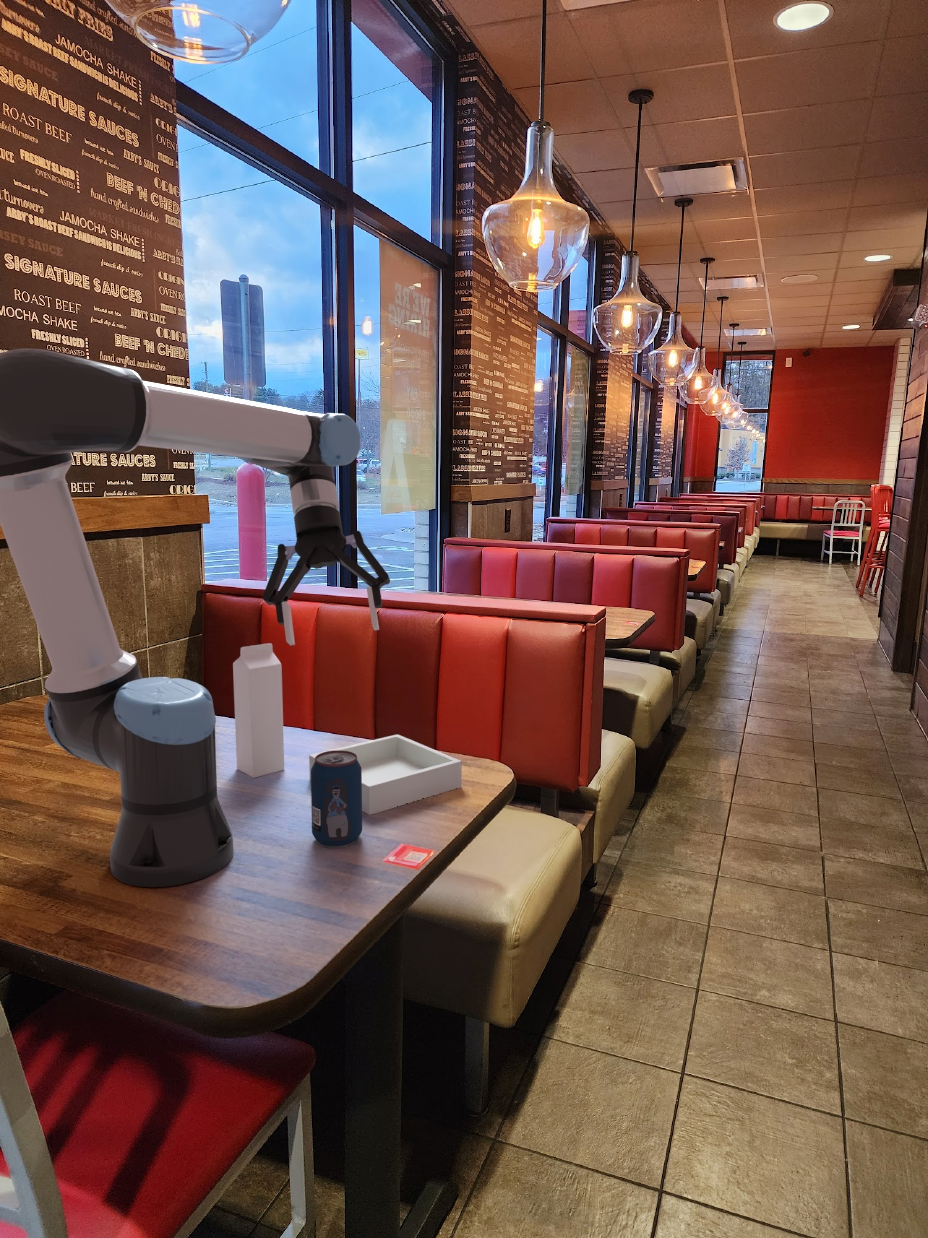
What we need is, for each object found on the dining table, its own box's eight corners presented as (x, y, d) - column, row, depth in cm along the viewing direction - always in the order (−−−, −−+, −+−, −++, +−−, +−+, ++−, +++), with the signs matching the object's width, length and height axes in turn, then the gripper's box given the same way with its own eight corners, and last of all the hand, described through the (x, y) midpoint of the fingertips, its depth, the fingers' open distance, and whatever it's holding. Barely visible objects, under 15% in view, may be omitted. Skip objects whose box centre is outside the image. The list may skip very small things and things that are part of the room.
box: (369, 815, 119) (369, 786, 118) (309, 780, 132) (309, 755, 132) (461, 787, 130) (461, 761, 130) (397, 758, 144) (397, 734, 143)
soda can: (344, 824, 116) (343, 745, 114) (372, 840, 111) (371, 758, 109) (302, 838, 111) (300, 756, 109) (329, 855, 106) (328, 769, 104)
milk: (284, 770, 137) (282, 645, 134) (252, 778, 133) (249, 650, 130) (267, 761, 142) (264, 640, 138) (235, 768, 138) (231, 644, 134)
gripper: (393, 509, 135) (413, 627, 129) (248, 534, 134) (261, 654, 128) (388, 490, 127) (409, 614, 122) (234, 517, 127) (248, 643, 121)
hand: (333, 635), depth 125 cm, fingers open, 13 cm apart
